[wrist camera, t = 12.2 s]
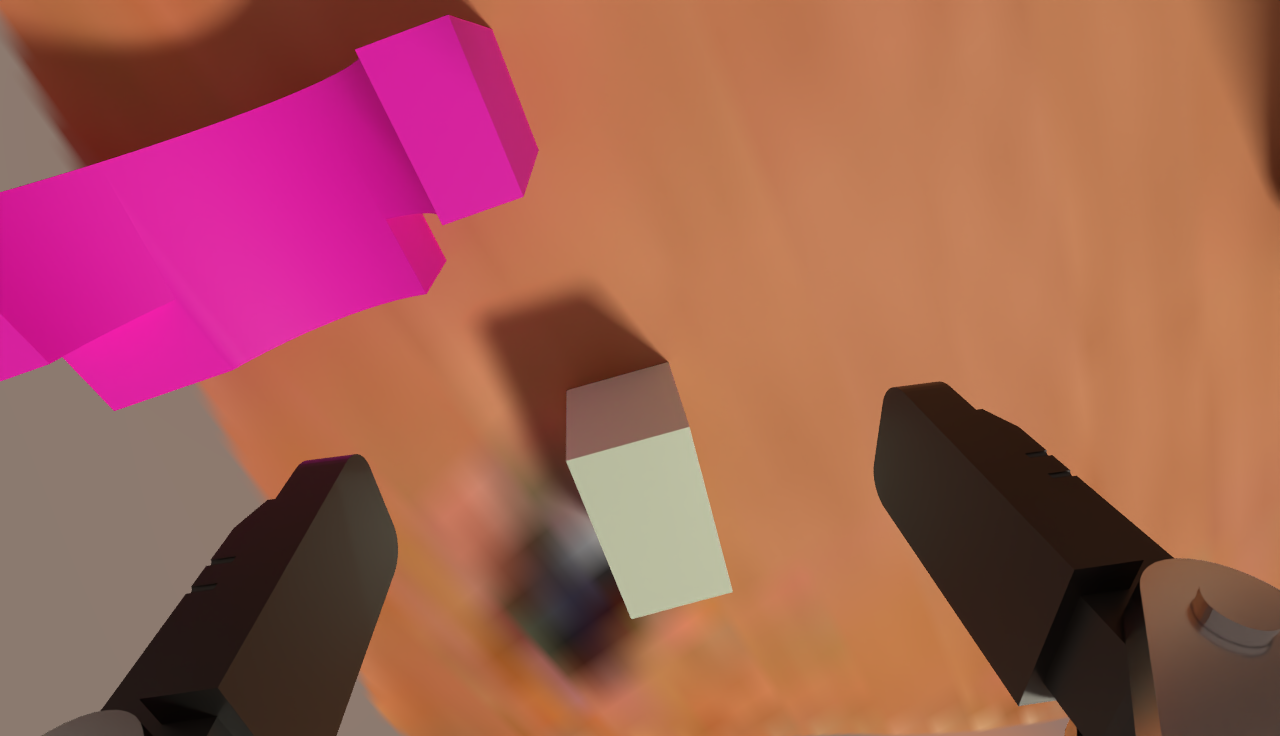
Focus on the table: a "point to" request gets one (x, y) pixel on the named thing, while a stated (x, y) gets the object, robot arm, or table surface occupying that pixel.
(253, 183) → the toy block
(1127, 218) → the table surface
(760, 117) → the table surface
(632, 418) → the green brick
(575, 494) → the table surface
